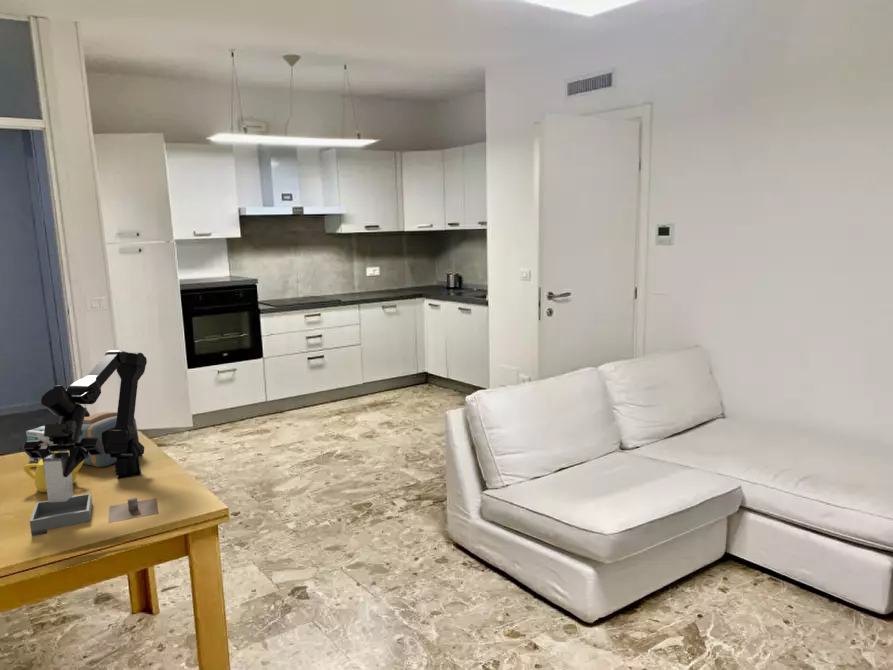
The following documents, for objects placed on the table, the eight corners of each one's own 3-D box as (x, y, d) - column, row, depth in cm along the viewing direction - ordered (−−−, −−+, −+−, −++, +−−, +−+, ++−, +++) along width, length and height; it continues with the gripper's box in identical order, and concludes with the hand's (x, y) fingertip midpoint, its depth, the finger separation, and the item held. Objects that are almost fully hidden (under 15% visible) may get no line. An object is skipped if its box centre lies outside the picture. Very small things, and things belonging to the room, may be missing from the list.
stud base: (156, 501, 187) (155, 487, 186) (158, 517, 176) (157, 502, 175) (109, 509, 182) (108, 496, 181) (108, 526, 171) (107, 512, 170)
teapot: (20, 491, 197) (16, 458, 195) (61, 476, 209) (57, 445, 207) (50, 497, 191) (46, 464, 190) (90, 482, 203) (86, 450, 201)
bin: (92, 506, 184) (91, 493, 183) (90, 525, 172) (88, 510, 171) (38, 516, 178) (36, 502, 178) (31, 535, 166) (29, 521, 166)
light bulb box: (28, 461, 224) (24, 430, 222) (47, 454, 230) (43, 425, 228) (50, 464, 220) (46, 433, 218) (68, 458, 226) (65, 428, 224)
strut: (73, 494, 177) (68, 452, 175) (66, 501, 172) (60, 457, 170) (56, 495, 176) (51, 453, 174) (48, 502, 172) (42, 458, 170)
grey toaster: (101, 469, 214) (96, 422, 211) (68, 463, 221) (63, 417, 218) (143, 454, 228) (139, 410, 226) (111, 448, 235) (107, 405, 233)
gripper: (21, 411, 174) (3, 466, 165) (94, 408, 175) (80, 461, 166) (40, 431, 183) (23, 484, 173) (109, 427, 184) (97, 479, 175)
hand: (55, 477), depth 172 cm, fingers closed on strut, 4 cm apart
